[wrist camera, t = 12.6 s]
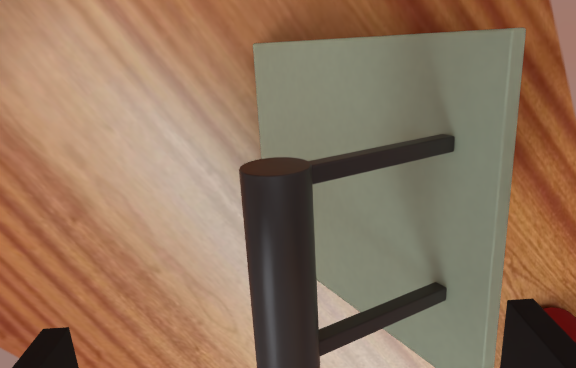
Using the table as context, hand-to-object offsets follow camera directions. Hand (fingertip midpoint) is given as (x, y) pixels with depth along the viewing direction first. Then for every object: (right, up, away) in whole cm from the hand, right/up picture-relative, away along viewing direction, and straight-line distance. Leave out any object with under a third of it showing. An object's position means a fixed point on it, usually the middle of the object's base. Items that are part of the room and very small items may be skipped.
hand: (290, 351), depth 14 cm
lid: (+4, +5, +13) cm, 15 cm away
